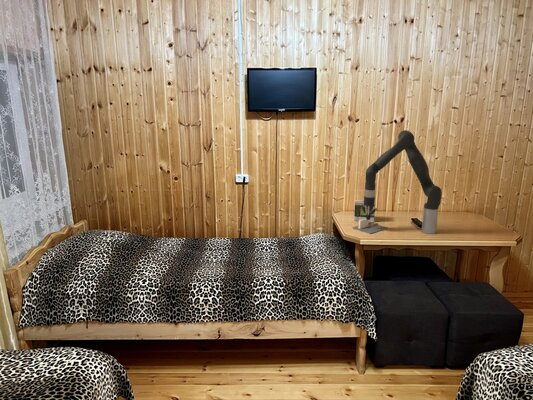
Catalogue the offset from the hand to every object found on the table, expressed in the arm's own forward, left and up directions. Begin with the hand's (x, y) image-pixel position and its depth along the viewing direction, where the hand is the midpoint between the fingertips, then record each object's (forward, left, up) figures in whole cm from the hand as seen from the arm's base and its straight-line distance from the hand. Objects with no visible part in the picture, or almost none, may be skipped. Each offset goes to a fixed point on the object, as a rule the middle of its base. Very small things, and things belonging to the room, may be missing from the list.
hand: (368, 219), depth 269 cm
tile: (-5, -4, -4) cm, 7 cm away
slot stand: (-10, -4, -7) cm, 13 cm away
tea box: (-17, -17, -8) cm, 25 cm away
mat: (-4, -1, -8) cm, 9 cm away
